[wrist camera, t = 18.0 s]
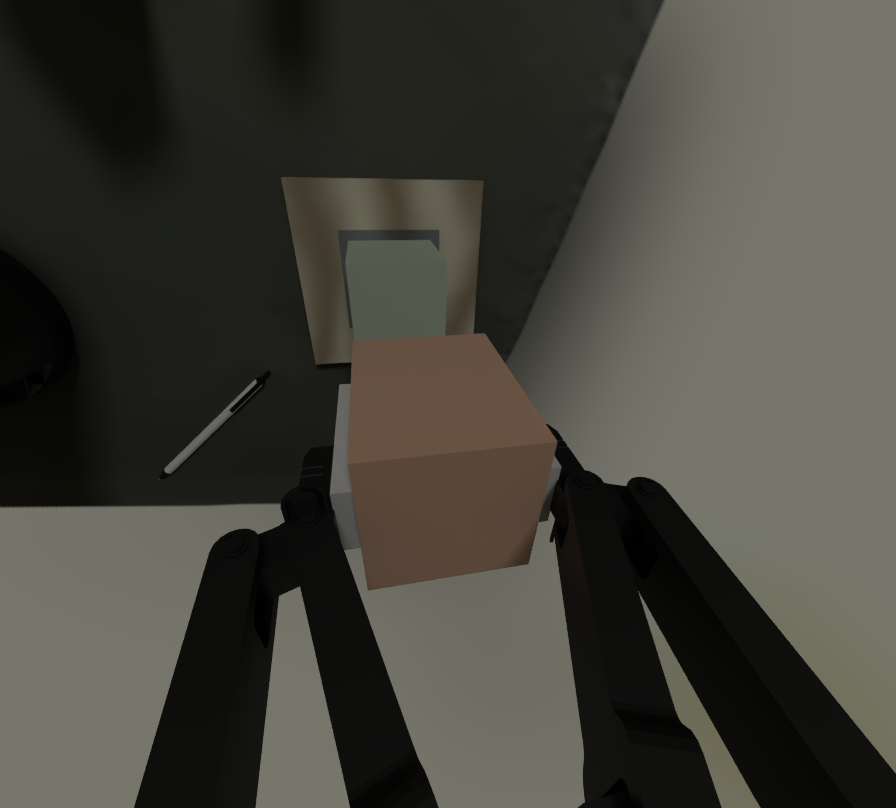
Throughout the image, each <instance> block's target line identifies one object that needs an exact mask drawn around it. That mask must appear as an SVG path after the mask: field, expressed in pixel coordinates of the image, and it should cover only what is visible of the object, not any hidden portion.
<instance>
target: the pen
mask: <svg viewBox="0 0 896 808" xmlns="http://www.w3.org/2000/svg"><path fill="white" fill-rule="evenodd" d="M270 374H271V373H270V372H269V371H267V372H266V373H265V374H264V375H263V376H262V377H261V378H259V377H257V378H256V379H255V380H254V381H253V382H252V383H251V384H250V385H249V386H248V387H247V388H246V389H245V390H244V391H243V392H242V393H241V394H240V395H239V396H238V397H237V398H236V399H235V400H234V401H233V402H232V403H231V404H230V405H229V406H228V407H227V408H226V409H225V410H224V411H223V412H222V413H221V414H220V415H219V416H218V417H216V418H215V419H214V420H213V421H212V422H211V423H210V424H209V425H208V426H207V427H206V428H205V429H204V430H203V431H202V432H201V433H200V434H199V435H198V436H197V437H196V438H195V439H194V440H193V441H192V442H191V443H190V444H189V445H188V446H187V447H186V448H185V449H184V450H183V451H182V452H181V453H180V454H179V455H178V456H177V457H176V458H175V459H174V460H173V461H172V462H171V463H170V464H169V465H168V466H167V467H166V468H164V470H163V472H162V474H161V476H160V477H159V480H160V479H162V478H164V477H166V476H168V475H169V474H171V473H172V472H173V471H174V470H175V469H177V468H178V467H179V466H180V465H181V464H182V463H183V462H184V461H185V460H186V459H187V458H188V457H189V456H190V455H191V454H192V453H193V452H194V451H195V450H196V449H197V448H198V447H199V446H200V445H201V444H202V443H203V442H204V441H205V440H206V439H208V438H209V437H210V436H211V435H212V434H213V433H214V432H215V431H216V430H217V429H218V428H219V427H220V426H221V425H222V424H223V423H224V422H225V421H226V420H227V419H228V418H229V417H230V416H231V415H232V414H233V413H234V412H235V411H236V410H237V409H238V408H240V407H241V406H242V405H243V404H244V403H245V402H246V401H247V400H248V399H249V398H250V397H251V396H252V395H253V394H254V393H255V392H256V391H257V390H258V389H259V388H260V387H261V386H262V385H263V384H264V383H265V382H264V380H265V379H266V378H267V377H268V376H269V375H270Z"/></svg>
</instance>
